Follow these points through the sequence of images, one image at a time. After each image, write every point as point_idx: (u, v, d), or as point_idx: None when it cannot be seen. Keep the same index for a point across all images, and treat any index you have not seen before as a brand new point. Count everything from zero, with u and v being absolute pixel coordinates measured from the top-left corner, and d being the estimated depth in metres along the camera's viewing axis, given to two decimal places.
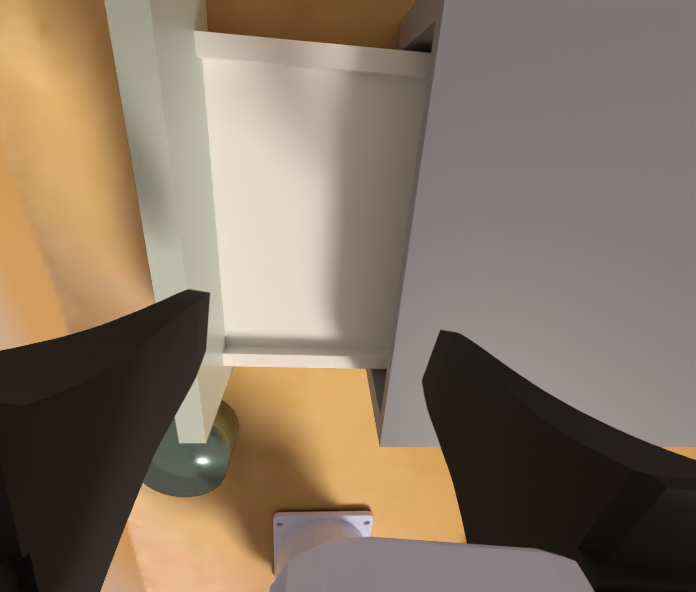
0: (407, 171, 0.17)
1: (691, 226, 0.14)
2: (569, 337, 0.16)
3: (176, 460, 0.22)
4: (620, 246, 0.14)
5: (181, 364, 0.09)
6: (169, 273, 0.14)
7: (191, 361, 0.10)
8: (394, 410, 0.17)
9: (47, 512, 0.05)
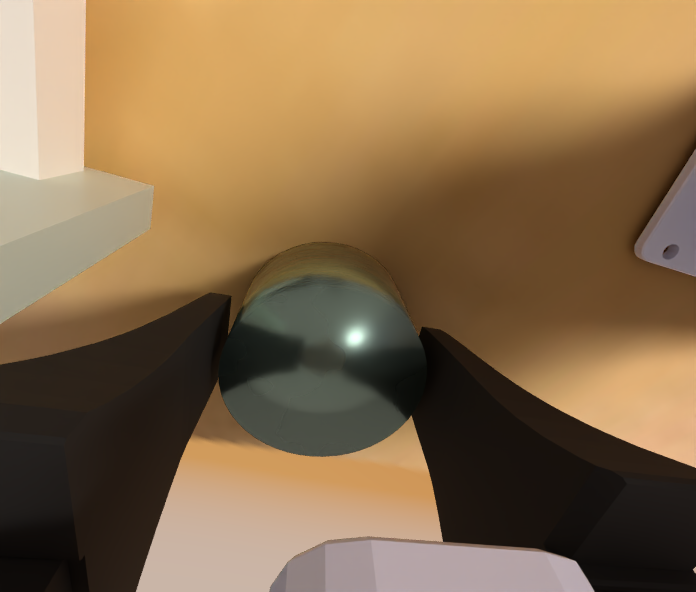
0: None
1: None
2: None
3: (303, 383, 0.10)
4: None
5: (206, 368, 0.09)
6: None
7: (214, 364, 0.10)
8: None
9: (98, 516, 0.05)
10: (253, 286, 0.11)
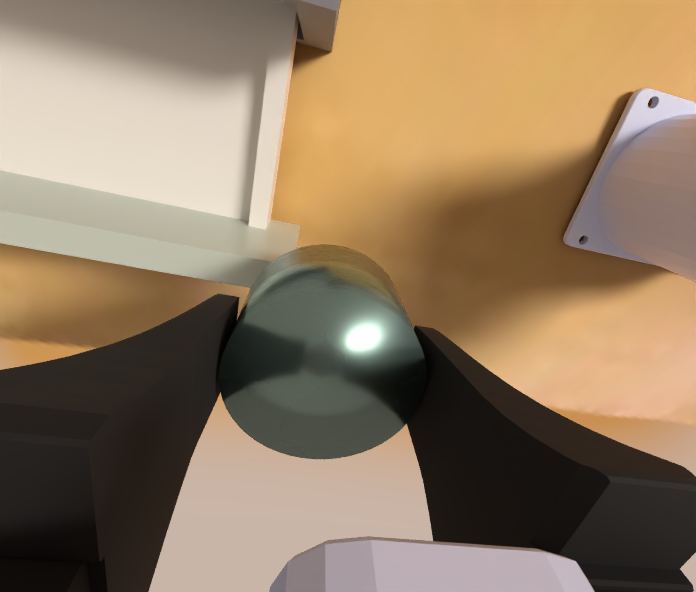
0: None
1: None
2: None
3: (303, 386, 0.10)
4: None
5: (215, 369, 0.09)
6: (45, 233, 0.13)
7: None
8: None
9: (117, 518, 0.05)
10: (253, 290, 0.11)
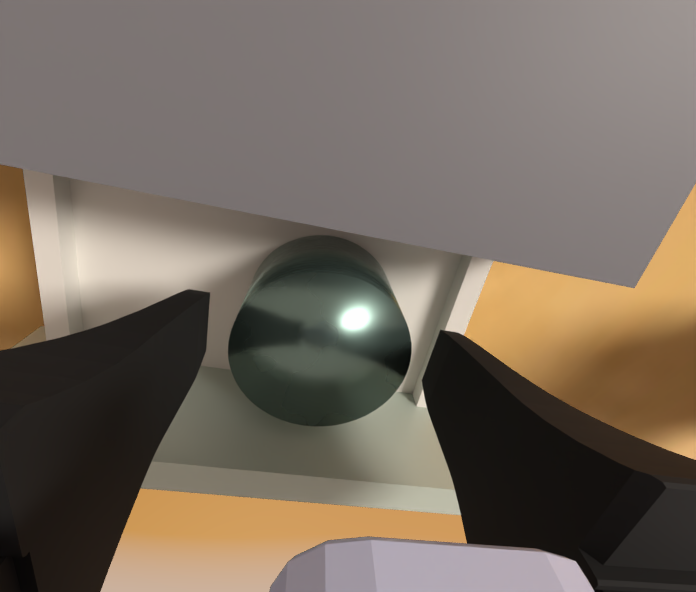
0: None
1: None
2: None
3: (302, 359, 0.11)
4: None
5: (181, 364, 0.09)
6: (252, 482, 0.12)
7: (191, 361, 0.10)
8: (561, 255, 0.09)
9: (47, 512, 0.05)
10: (255, 277, 0.12)
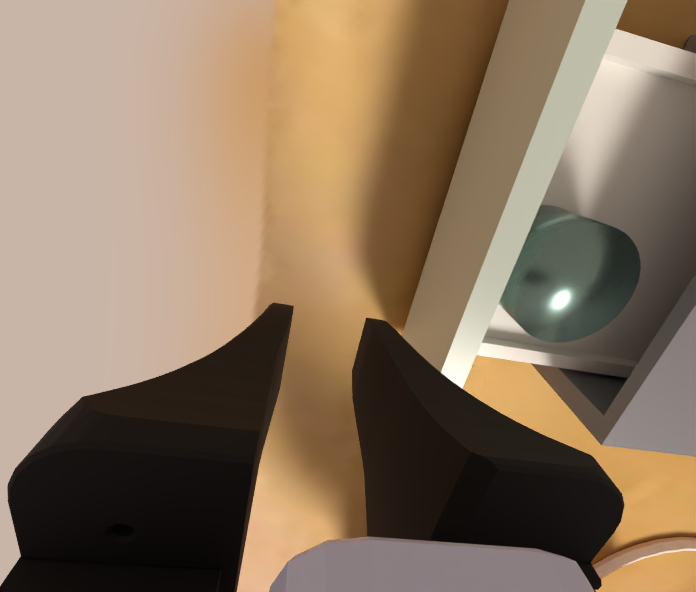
0: (672, 181, 0.18)
1: None
2: None
3: (578, 275, 0.15)
4: None
5: (278, 377, 0.10)
6: (508, 246, 0.13)
7: (280, 373, 0.10)
8: (633, 410, 0.17)
9: (244, 527, 0.05)
10: None
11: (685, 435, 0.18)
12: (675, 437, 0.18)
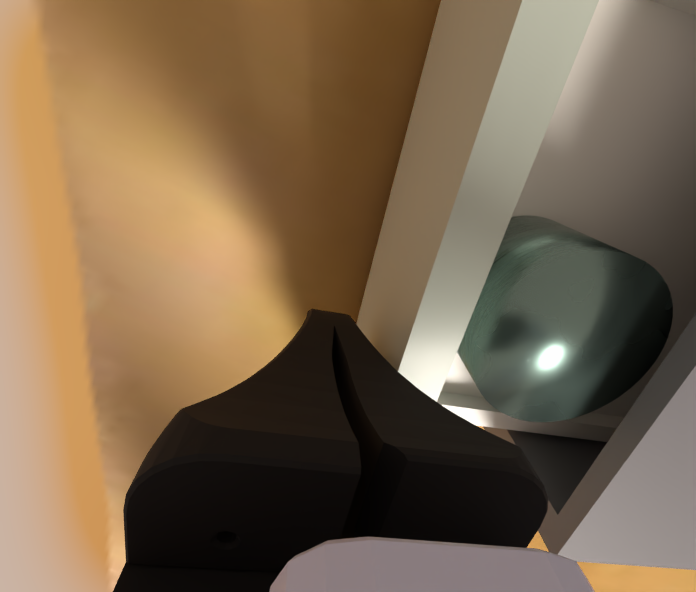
0: None
1: None
2: None
3: (574, 329, 0.10)
4: None
5: None
6: (456, 290, 0.08)
7: None
8: (599, 516, 0.11)
9: None
10: None
11: (678, 545, 0.12)
12: (663, 547, 0.12)
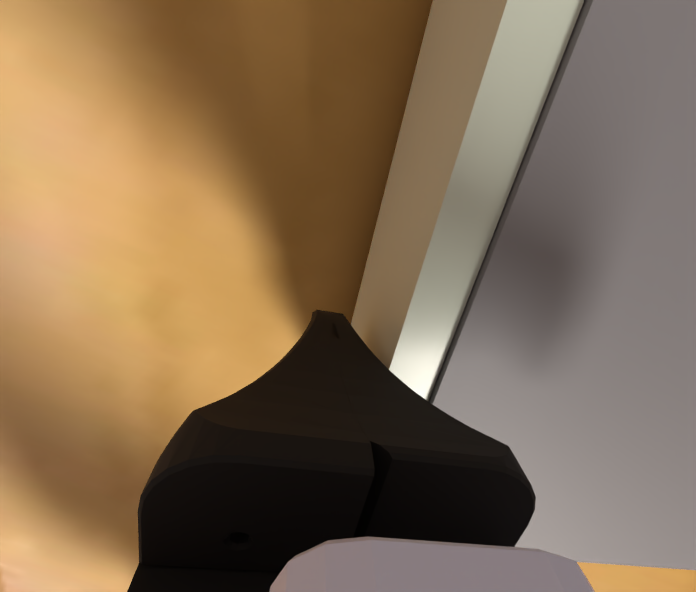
0: None
1: None
2: None
3: None
4: None
5: None
6: (446, 289, 0.08)
7: None
8: None
9: None
10: None
11: None
12: None
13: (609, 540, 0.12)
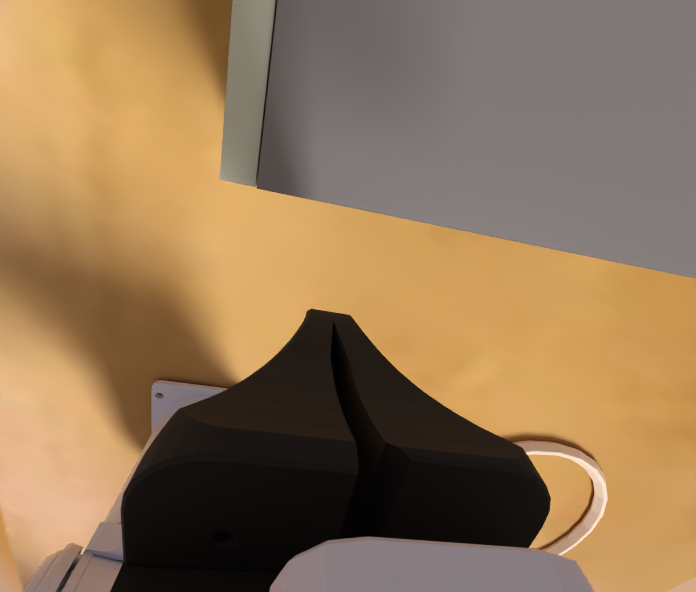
0: None
1: None
2: (526, 30, 0.11)
3: None
4: None
5: None
6: None
7: None
8: (278, 120, 0.12)
9: None
10: None
11: (376, 176, 0.13)
12: (363, 179, 0.13)
13: (467, 197, 0.13)
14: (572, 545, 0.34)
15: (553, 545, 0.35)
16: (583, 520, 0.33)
